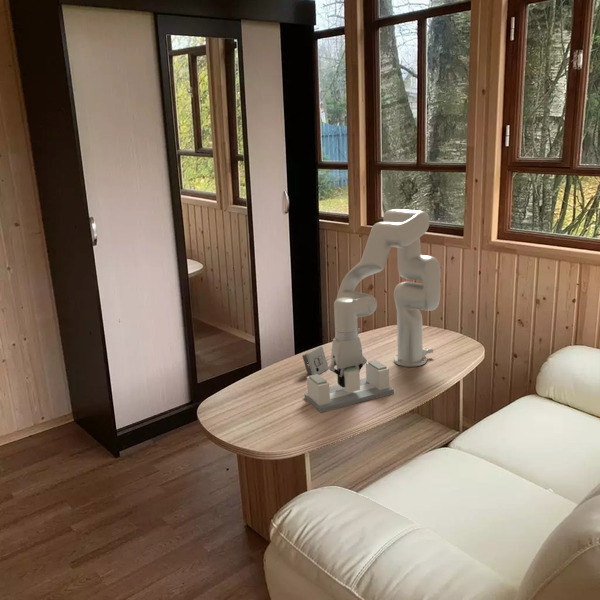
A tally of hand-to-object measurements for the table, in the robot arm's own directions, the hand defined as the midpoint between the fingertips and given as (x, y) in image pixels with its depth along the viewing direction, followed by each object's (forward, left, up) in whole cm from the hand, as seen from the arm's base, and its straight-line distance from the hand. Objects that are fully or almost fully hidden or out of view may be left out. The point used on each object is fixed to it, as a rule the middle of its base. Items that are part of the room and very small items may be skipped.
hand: (348, 383), depth 208 cm
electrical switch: (+1, -25, -5) cm, 25 cm away
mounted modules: (0, 0, -3) cm, 3 cm away
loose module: (0, 0, -1) cm, 1 cm away
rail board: (0, 0, -4) cm, 4 cm away
